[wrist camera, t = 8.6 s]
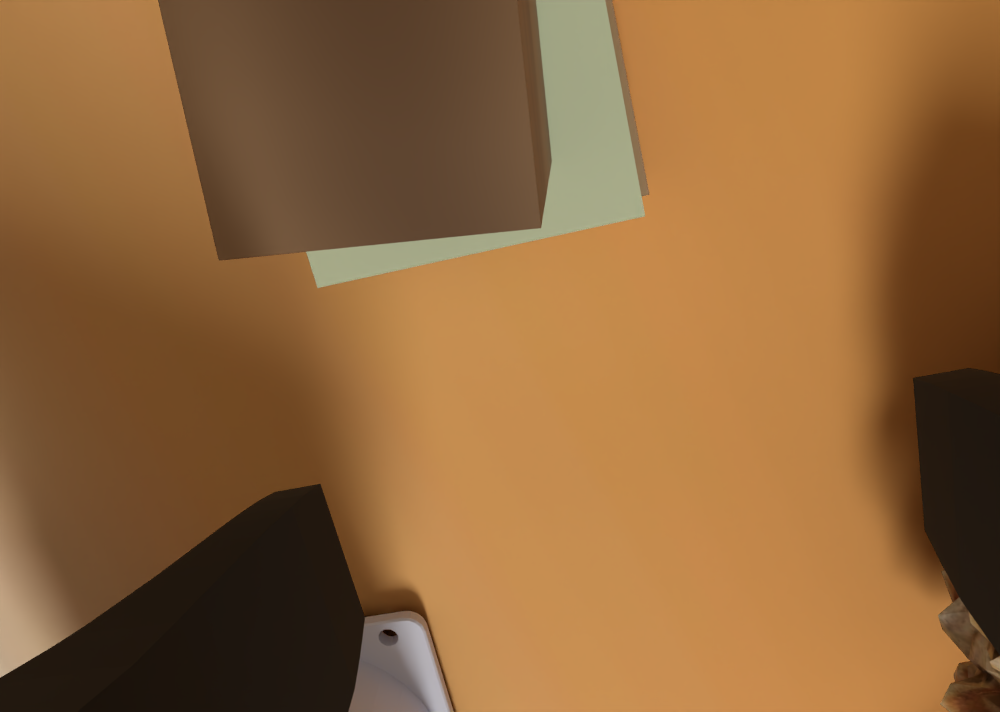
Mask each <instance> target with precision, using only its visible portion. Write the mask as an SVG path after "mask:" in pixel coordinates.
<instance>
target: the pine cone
mask: <svg viewBox="0 0 1000 712" xmlns="http://www.w3.org/2000/svg"><path fill="white" fill-rule="evenodd" d="M942 575H943V578H944V580H945V583H946V586H947V588H948V591H949V594H950V597H951V599H952V602H953V603H952V604H951V605H949V606H948V607H947V608H946V609H945V610H944V611H942V612H941V613H940V614H939V615H938V616H939V620H940V623H941V626H942V629H943V631H944V632H945V633H946V634H947V635H948V636H949V637H950V638H951V640H952V641H953V642H954V643H955V644H956V645H957V646H958V648H959V649H960V650H961V651H962V652H963V653H964V654H965V656H966V657H967V658H968V659H969V660H970V661H969V662H963V663H959V664H958V666H957V669H956V671H955V673H954V679H955V682H954V683H951V684H950V686H949V688H948V690H947V692H946V694H945V696H944V698H943V700H942V702H941V703H940V704H941V705H942V706H943V707H944V708H946V709H947V710H948V711H949V712H1000V655H999V654H998V652H997V651H996V649H995V648H994V647H993V645H992V644H991V642H990V641H989V640H988V638H987V637H986V635H985V634H984V633H983V631H982V630H981V628H980V627H979V625H978V624H977V623H976V621H975V620H974V618H973V617H972V615H971V614H970V613H969V611H968V610H967V608H966V607H965V605H964V604H963V602H962V601H961V599H960V598H959V596H958V594H957V592H956V590H955V588H954V586H953V585H952V583H951V581H950V579H949V577H948V575H947V573H946V571H945V570H943V571H942Z"/></svg>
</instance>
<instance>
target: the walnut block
mask: <svg viewBox="0 0 1000 712" xmlns="http://www.w3.org/2000/svg"><path fill="white" fill-rule="evenodd" d="M158 2H159V6H160V11H161V15H162V19H163V24H164V28H165V32H166V36H167V41H168V45H169V49H170V53H171V58H172V62H173V66H174V71H175V75H176V79H177V83H178V88H179V92H180V96H181V101H182V105H183V109H184V113H185V118H186V122H187V126H188V130H189V135H190V139H191V143H192V148H193V152H194V156H195V160H196V165H197V169H198V173H199V178H200V182H201V186H202V190H203V195H204V199H205V203H206V207H207V212H208V216H209V220H210V225H211V229H212V233H213V237H214V242H215V246H216V250H217V255H218V259H219V260H229V259H239V258H249V257H259V256H269V255H279V254H289V253H299V252H309V251H319V250H329V249H339V248H349V247H359V246H369V245H379V244H389V243H399V242H409V241H419V240H429V239H439V238H448V237H458V236H468V235H478V234H488V233H498V232H508V231H518V230H528V229H538V228H541V226H542V219H543V213H544V207H545V201H546V195H547V188H548V182H549V176H550V170H551V164H552V157H551V147H550V137H549V127H548V117H547V107H546V97H545V87H544V77H543V66H542V56H541V46H540V36H539V26H538V16H537V6H536V0H158Z"/></svg>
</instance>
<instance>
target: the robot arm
mask: <svg viewBox="0 0 1000 712" xmlns="http://www.w3.org/2000/svg"><path fill="white" fill-rule="evenodd" d="M913 383H914V396H915V409H916V422H917V435H918V448H919V461H920V474H921V488H922V501H923V514H924V527H925V532H926V534H927V536H928V538H929V540H930V542H931V544H932V546H933V548H934V550H935V552H936V554H937V556H938V558H939V560H940V562H941V564H942V566H943V568H944V570H945V571H946V573H947V575H948V577H949V579H950V581H951V583H952V585H953V586H954V588H955V590H956V592H957V594H958V596H959V598H960V599H961V601H962V602H963V604H964V605H965V607H966V608H967V610H968V611H969V613H970V614H971V615H972V617H973V618H974V620H975V621H976V623H977V624H978V625H979V627H980V628H981V630H982V631H983V633H984V634H985V635H986V637H987V638H988V640H989V641H990V642H991V644H992V645H993V647H994V648H995V649H996V651H997V652H998V654H999V655H1000V374H996V373H992V372H988V371H983V370H978V369H971V368H966V369H961V370H955V371H950V372H944V373H938V374H933V375H927V376H922V377H916V378H913ZM385 629H388V630H392V631H394V632H396V634H397V635H395V636H388V635H386V634H384V633H383V630H385ZM0 712H454V711H453V708H452V704H451V701H450V698H449V695H448V691H447V688H446V685H445V682H444V678H443V675H442V672H441V668H440V665H439V662H438V659H437V655H436V652H435V649H434V646H433V642H432V639H431V636H430V632H429V629H428V626H427V623H426V621H425V620H424V618H423V617H422V616H421V615H419V614H418V613H415V612H412V611H400V612H394V613H388V614H381V615H375V616H369V617H364V614H363V611H362V608H361V605H360V602H359V599H358V596H357V593H356V590H355V587H354V584H353V581H352V578H351V575H350V572H349V569H348V566H347V563H346V560H345V557H344V554H343V551H342V548H341V545H340V542H339V539H338V536H337V533H336V529H335V526H334V523H333V520H332V517H331V514H330V511H329V508H328V505H327V502H326V499H325V496H324V493H323V490H322V487H321V484H317V485H312V486H306V487H301V488H295V489H289V490H284V491H278V492H274V493H272V494H270V495H269V496H267V497H265V498H263V499H261V500H260V501H258V502H256V503H255V504H253V505H252V506H250V507H249V508H247V509H246V510H244V511H243V512H242V513H240V514H239V515H237V516H236V517H235V518H233V519H232V520H230V521H229V522H228V523H226V524H225V525H224V526H222V527H221V528H220V529H218V530H217V531H216V532H214V533H213V534H212V535H210V536H209V537H208V538H206V539H205V540H204V541H202V542H201V543H200V544H198V545H197V546H196V547H194V548H193V549H192V550H190V551H189V552H188V553H186V554H185V555H184V556H182V557H181V558H180V559H178V560H177V561H176V562H174V563H173V564H172V565H170V566H169V567H168V568H166V569H165V570H164V571H162V572H161V573H160V574H158V575H157V576H156V577H154V578H153V579H151V580H150V581H148V582H147V583H146V584H144V585H143V586H141V587H140V588H138V589H137V590H136V591H134V592H133V593H131V594H130V595H129V596H127V597H126V598H124V599H123V600H121V601H120V602H119V603H117V604H116V605H114V606H113V607H111V608H110V609H109V610H107V611H106V612H104V613H103V614H102V615H100V616H99V617H97V618H96V619H94V620H93V621H92V622H90V623H89V624H87V625H86V626H84V627H83V628H81V629H80V630H78V631H76V632H75V633H73V634H72V635H70V636H69V637H67V638H66V639H64V640H62V641H61V642H59V643H58V644H56V645H54V646H53V647H51V648H50V649H48V650H46V651H45V652H43V653H41V654H40V655H38V656H36V657H35V658H33V659H31V660H30V661H28V662H26V663H25V664H23V665H21V666H19V667H18V668H16V669H14V670H13V671H11V672H9V673H8V674H6V675H4V676H3V677H1V678H0Z"/></svg>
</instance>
